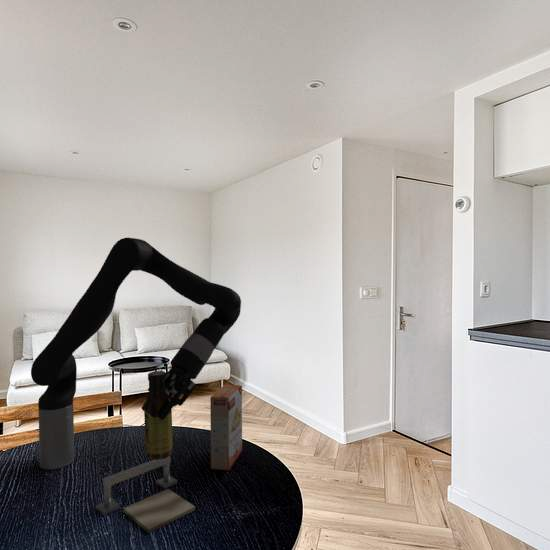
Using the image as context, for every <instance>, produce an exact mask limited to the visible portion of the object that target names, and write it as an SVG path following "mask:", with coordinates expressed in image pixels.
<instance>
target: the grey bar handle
mask: <svg viewBox="0 0 550 550" xmlns="http://www.w3.org/2000/svg"><path fill="white" fill-rule="evenodd" d="M171 460H172V459H171V455H170V456H169V457H167V458H165V459H159V460H153V459H151V460H150V461H146V462H144V463H141V464H138V465H136V466H132V467H130V468H127V469H125V470H122V471H119V472H117V473H114V474H111V475H108V476H105V477H103V478H102V486H103V501H102V502H101V503H99V504H96V505H95V510H97V511H98V512H99V513H100V515H102V516H105V515H107V514H109V513H112V512H114V511H116V510H119V509H120V508H121V507H120V504H119V503H118V502H117V501H116V500H114V499H113V498H112V486H113V485H115V484H118V483H121V482H123V481H126V480H129V479H131V478H134V477H136V476H139V475H141V474H145V473H146V472H150V471H152V470H155V469H158V468H160V467H163V477H162V478H159V479H157V480H155V481H156V482H155V484H156V485H158V486H159V487H161V488H162V489H164V490H166V489H169V487H172V486H174V485H177V484H178V479H176V478H174V477H173V476H171V473H170V472H171V470H170V469H171V467H170V465H171V464H170V463H172V461H171Z"/></svg>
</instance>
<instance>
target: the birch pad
mask: <svg viewBox="0 0 550 550" xmlns="http://www.w3.org/2000/svg"><path fill="white" fill-rule="evenodd" d="M122 510H123V511H122V512H123V513H125V515H127V516H128V517H129V518H131V520H133V521H134V522H135V523H136V524H137V525H139V526H140V527H141V528H142V530H144V531H145V532H147V533H148V534H150V533H152V532H155V531H156V530H158V529H161V528H163V527H164V526H167V525H168V524H170V523H173V522H175V521H176V520H179V519H180V518H182V517H184V516H186V515H188V514H190V513H193V512H194V511H196V506H195V505H193V503H191V502H189V501H187V500H186V499H185V498H183V497H182V496H180V495H178V494H177V493H176V492H174V491H173V490H171V489H170V488H165V489H164V490H162V491H160V492H159V491H158V492H157V493H155V494H152V495H150V496H148V497H145V498H143V499H141V500H138V501H136V502H134V503H131V504H129V505H127V506H125V507H123V508H122Z"/></svg>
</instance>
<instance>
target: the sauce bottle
mask: <svg viewBox="0 0 550 550" xmlns="http://www.w3.org/2000/svg"><path fill="white" fill-rule="evenodd" d="M166 373H167V372H166V371H164V370H162V371H161V370H155V371H150V372H148V374H147V380H148V388H149V391H148V394H147V397H146V401H145V402H146V403H145V402H144V403H145V406H144V411H143V412H144V413H143V415H144V416H143V417H144V439H145V440H144V442H145V443H144V444H145V452H146V457H147V458H148V459H149V460H159V459H165V458H167V457H169V456H171V455H172V454H173V446H174V444H173V443H174V441H173V438H174V436H173V413H172V409H171V411H170V412H169V413H168V415H167V416H166V417H165V419H164V420H161V419H159V418H158V417H157V416H156V413H157V412H158V411H159V409H160V408H161V406H162V405H163V403H164V402H165V401H167V397H168V394H169V393H168V394H167V393H166V391H165V390H166V388H165V378H166Z"/></svg>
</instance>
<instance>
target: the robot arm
mask: <svg viewBox="0 0 550 550" xmlns="http://www.w3.org/2000/svg"><path fill="white" fill-rule="evenodd" d="M133 271H135V272H138V271H141V272H145V273H146V274H150V275H152V276H155V277H157V278H159V279H160V280H162V281H163V282H164V283H166V284H167V286H168V287H170V288H171V289H172V290H173V291H175V292H176V293H178V294H179V295H181V296H182V297H184V298H185V299H187V300H189V301H191V302H192V303H195V304H196V305H200V306H204V305H209V306H211V307H212V308H214V310H213V311H212V313H211V314H210V315H209V316H208V317H206V318H203V319H202V320H201V321H200V322H199V324H198V325H197V327H196V328H195V329H194V330H193V332H192V333H191V334H190V336H188V337H187V338H186V340H185V341H184V343H183V344H182V345H181V347H180V348H179V349H178V351H177V352H176V354H175V355H173V357H172V358H171V360H170V365H171V368H170V369H169V370H168V371H167V372H165V373H166V378H165V388H166V390H165V391H166V393H167V394H168V397H167V401H165V402H164V403H163V405H162V406H161V408H160V409H159V411H158V412H157V413H156V416H157V417H158V418H159V419H161V420H164V419H165V417H166V416H167V415H168V413H169V412H170V411H171V410H172V409H173V408H174V407H176V406H179V407H181V406H182V405H183V404H185V402H186V401H187V399H188V398H189V397H190V396H191V394H193V393H192V392H193V391H194V390H195V389H196V388H197V384H196V383H195V382H194V381H193V380H196V378H198V376H199V374H200V373H201V371H202V370H203V369H204V367H205V365H206V364H207V363H208V361H209V359H211V357H212V354H213V353H214V350H215V349H216V348H217V346H218V345H219V343H220V341H221V340H222V339H223V337H224V335H225V334H226V333H227V332H228V331H229V330H230V329H231V328H232V327H233V326H234V325H235V323H236V322H237V321H238V318H239V317H240V315H241V309H242V299H241V296H240V294H238V292H236V291H235V290H234V289H232V288H230V287H228V286H225V285H222V284H219V283H214V282H211V281H209V280H207V279H205V278H203V277H201V276H200V275H198V274H196V273H194V272H192V271H191V270H188V269H187V268H185V267H182V266H181V265H179V264H177V263H176V262H174V261H173V260H171V259H169V258H168V257H167V256H165V255H164V254H162V253H161V252H160V250H157V248H155V247H154V246H153V245H151V244H150V243H149V242H148V241H145V240H144V239H140V238H137V237H124V238H121V239H119V240H118V241H116V242H115V243H114V244H113V246H112V247H111V249H110V251H109V253H108V255H107V256H106V258H105V260H104V262H103V264H102V266H101V268H100V270H99V271H98V273H97V274H96V276H95V278H94V279H93V280H92V282H91V283H90V285H89V286H88V287H87V289H86V291H85V292H84V293H83V295H82V296H81V297H80V299H79V300H78V301H77V303H76V304H75V306H74V307H73V309H72V310H71V312H70V314H69V315H68V317H67V318H66V319H65V321H64V322H63V324H62V325H61V327H60V328H58V329H59V330H58V331H57V333H55V335H54V337H53V338H52V339H51V340H50V342H49V343H47V345H46V346H45V348H43V350H42V351H41V352H40V353H38V356H37V357H36V358H35V359H34V361H33V362H32V365H31V368H30V375H31V379H32V381H33V383H35V384H36V385H37V386H42V387H46V390H45V391H44V392H43V394H41V395H40V396H39V398H38V401H37V402H38V403H37V404H38V405H37V406H38V407H37V408H38V448H39V449H38V450H39V452H38V453H39V454H38V455H39V456H38V457H39V458H38V459H39V462H38V463H39V468H40V469H42V470H57V469H61V468H64V467H66V466H69V465H71V464H72V463H74V461H75V429H74V428H75V425H74V416H75V415H74V397H75V394H76V390H77V375H78V374H77V373H78V372H77V371H78V369H77V368H78V366H77V362H76V359H75V355H73V354H74V353H75V351H77V350H78V349H79V348H80V347H81V346H82V345H84V344H85V343H86V342H87V341H88V340H89V339H91V338H92V337H93V336H94V335H95V334H97V332H98V331H99V330H100V329H101V328H102V326H103V325H104V324H105V322H106V320H108V318H109V317H110V316H111V313H112V312H113V309H114V306H115V304H116V303H115V302H116V296H117V293H118V290H119V288H120V286H121V285H122V283H123V282H124V281H125V280H126V278H127V277H128V276H129V274H130V273H132V272H133ZM160 371H163V370H162V369H161V370H160ZM147 391H148V392H149V387H148V388H147ZM145 403H146V401H145V402H144V403H143V405H142V406H141V410H142V411H143V412H144V406H145Z"/></svg>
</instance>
